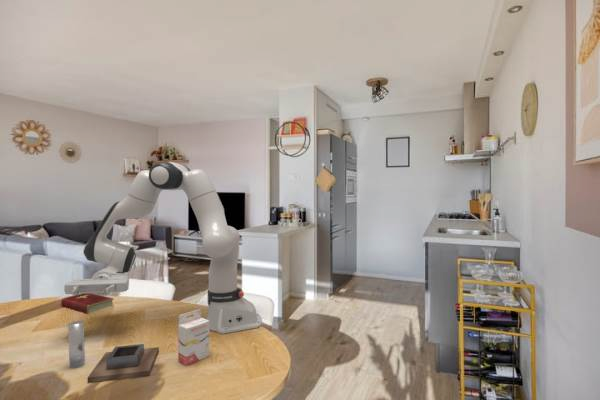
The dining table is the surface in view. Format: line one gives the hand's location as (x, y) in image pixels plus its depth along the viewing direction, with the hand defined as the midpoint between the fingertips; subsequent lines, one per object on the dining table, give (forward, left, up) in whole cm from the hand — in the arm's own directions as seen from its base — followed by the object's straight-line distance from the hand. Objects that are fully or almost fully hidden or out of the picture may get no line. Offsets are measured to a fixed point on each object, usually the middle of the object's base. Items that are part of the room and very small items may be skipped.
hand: (90, 292), depth 115 cm
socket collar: (-15, +16, -17) cm, 28 cm away
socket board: (-15, +16, -19) cm, 29 cm away
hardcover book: (+18, -46, -20) cm, 53 cm away
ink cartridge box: (-35, +16, -19) cm, 43 cm away
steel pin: (0, +12, -19) cm, 23 cm away
